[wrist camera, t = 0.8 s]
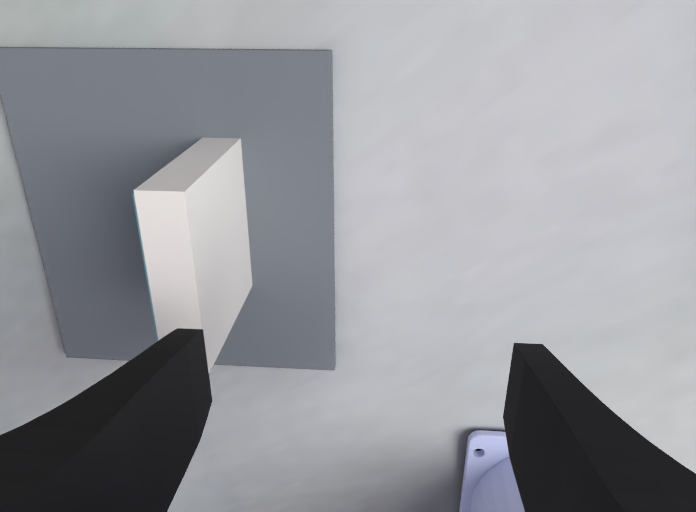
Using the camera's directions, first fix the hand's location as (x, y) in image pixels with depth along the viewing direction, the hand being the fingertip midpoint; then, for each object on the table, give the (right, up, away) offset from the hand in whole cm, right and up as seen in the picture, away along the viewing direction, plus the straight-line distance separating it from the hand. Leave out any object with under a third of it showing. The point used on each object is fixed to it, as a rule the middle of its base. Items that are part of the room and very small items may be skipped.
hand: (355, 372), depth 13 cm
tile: (-5, +4, +9) cm, 11 cm away
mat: (-7, +4, +10) cm, 12 cm away
